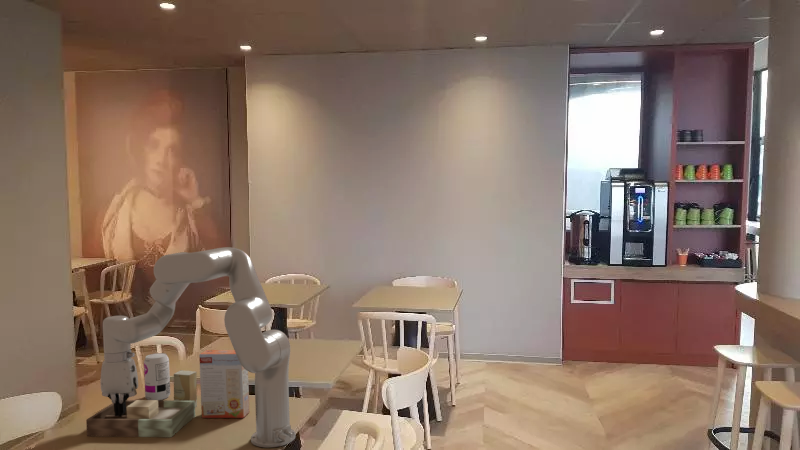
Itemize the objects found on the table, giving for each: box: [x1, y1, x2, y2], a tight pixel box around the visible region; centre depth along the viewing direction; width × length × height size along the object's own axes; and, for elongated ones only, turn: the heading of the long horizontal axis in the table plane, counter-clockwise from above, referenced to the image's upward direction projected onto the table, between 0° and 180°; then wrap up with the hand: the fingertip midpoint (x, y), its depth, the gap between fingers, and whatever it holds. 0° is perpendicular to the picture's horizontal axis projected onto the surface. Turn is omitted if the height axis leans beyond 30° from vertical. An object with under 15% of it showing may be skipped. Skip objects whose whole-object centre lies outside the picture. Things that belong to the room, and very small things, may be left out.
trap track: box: [85, 399, 197, 438], centre depth 185 cm, size 26×17×5 cm, turn 85°
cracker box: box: [199, 349, 250, 419], centre depth 192 cm, size 14×6×21 cm, turn 84°
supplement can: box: [143, 352, 171, 400], centre depth 211 cm, size 8×8×15 cm
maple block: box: [127, 399, 159, 419], centre depth 185 cm, size 7×6×4 cm
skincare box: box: [173, 369, 198, 408], centre depth 200 cm, size 6×4×12 cm
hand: (120, 414), depth 186 cm, fingers closed
